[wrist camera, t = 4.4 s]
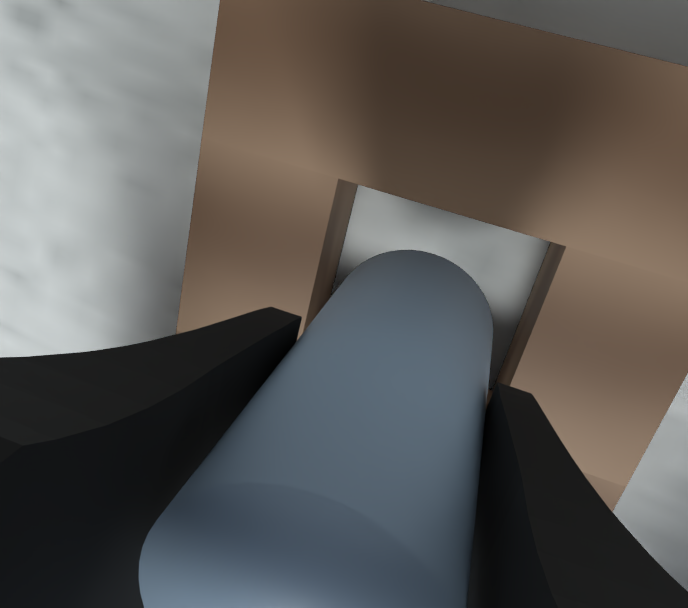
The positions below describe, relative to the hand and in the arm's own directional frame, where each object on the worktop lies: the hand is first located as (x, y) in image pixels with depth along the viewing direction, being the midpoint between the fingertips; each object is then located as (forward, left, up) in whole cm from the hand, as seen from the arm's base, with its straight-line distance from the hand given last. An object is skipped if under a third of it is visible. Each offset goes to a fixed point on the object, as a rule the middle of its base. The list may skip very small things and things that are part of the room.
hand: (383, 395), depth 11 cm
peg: (0, 0, -3) cm, 3 cm away
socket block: (0, 0, -6) cm, 6 cm away
